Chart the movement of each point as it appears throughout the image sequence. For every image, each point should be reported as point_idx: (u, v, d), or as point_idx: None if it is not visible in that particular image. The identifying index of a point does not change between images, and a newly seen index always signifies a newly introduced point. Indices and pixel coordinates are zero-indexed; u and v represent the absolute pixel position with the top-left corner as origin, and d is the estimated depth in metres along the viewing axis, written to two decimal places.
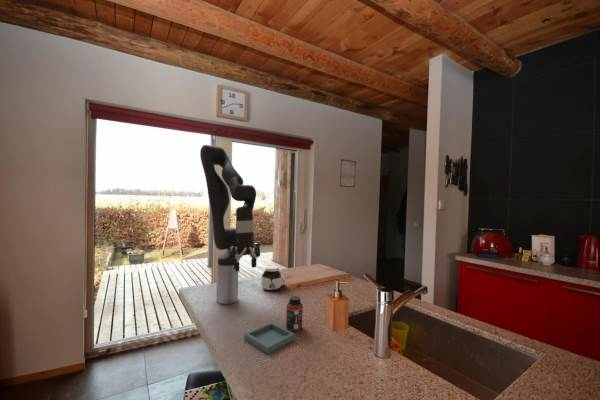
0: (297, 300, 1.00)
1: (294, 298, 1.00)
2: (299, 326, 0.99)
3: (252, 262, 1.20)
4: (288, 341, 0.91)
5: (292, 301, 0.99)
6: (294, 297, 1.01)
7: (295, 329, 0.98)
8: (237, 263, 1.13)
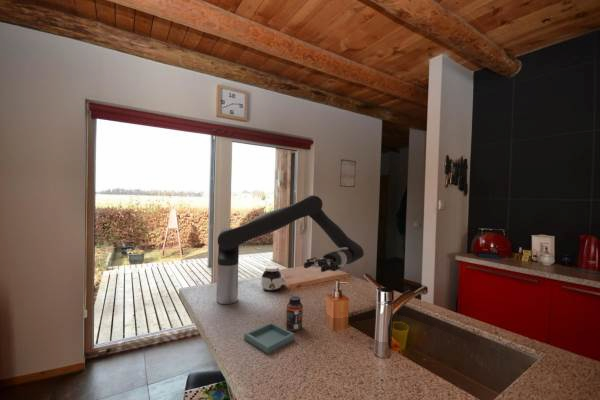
0: (297, 300, 1.00)
1: (294, 298, 1.00)
2: (299, 326, 0.99)
3: (308, 263, 1.13)
4: (288, 341, 0.91)
5: (292, 301, 0.99)
6: (294, 297, 1.01)
7: (295, 329, 0.98)
8: (327, 269, 1.09)
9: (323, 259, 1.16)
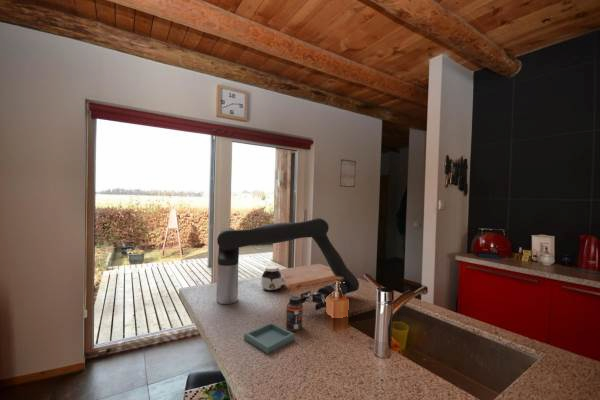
0: (297, 300, 1.00)
1: (294, 298, 1.00)
2: (299, 326, 0.99)
3: (302, 299, 1.11)
4: (288, 341, 0.91)
5: (292, 301, 0.99)
6: (294, 297, 1.01)
7: (295, 329, 0.98)
8: (321, 307, 1.07)
9: (318, 294, 1.14)
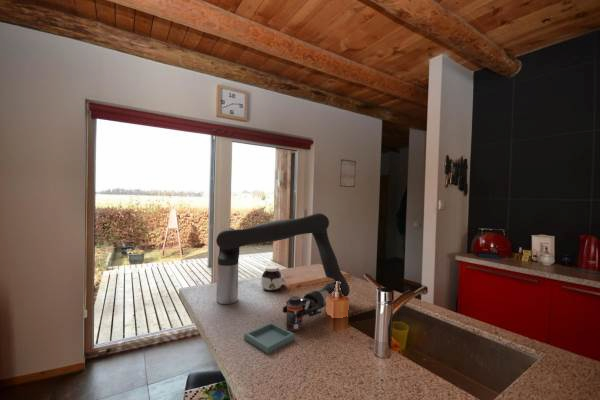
0: (297, 300, 1.00)
1: (294, 298, 1.00)
2: (299, 326, 0.99)
3: None
4: (288, 341, 0.91)
5: (292, 301, 0.99)
6: (294, 297, 1.01)
7: (295, 329, 0.98)
8: (303, 315, 0.99)
9: (304, 300, 1.07)
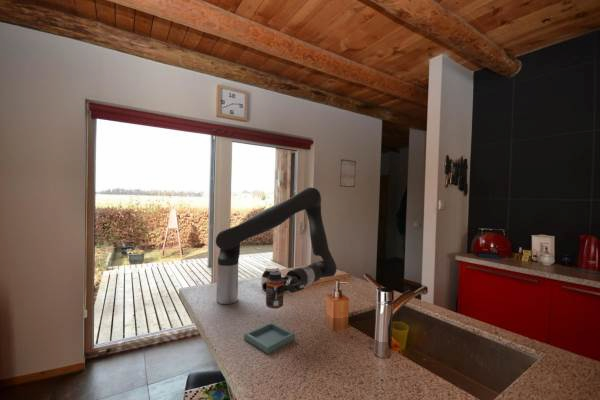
0: (277, 275, 0.92)
1: (274, 273, 0.93)
2: (279, 303, 0.92)
3: None
4: (288, 341, 0.91)
5: (272, 276, 0.92)
6: (275, 272, 0.94)
7: (275, 306, 0.91)
8: None
9: (286, 277, 0.99)
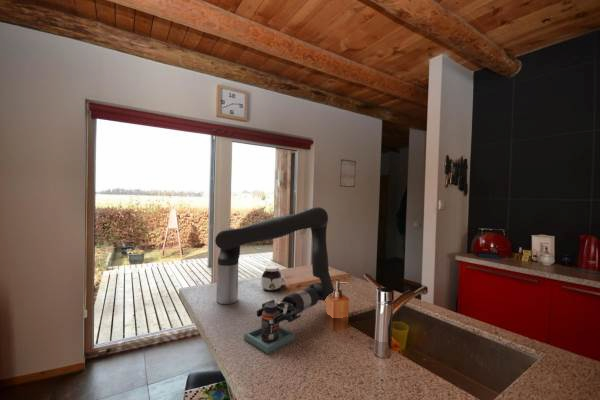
0: (273, 308, 0.91)
1: (270, 305, 0.92)
2: (275, 336, 0.90)
3: (262, 311, 0.95)
4: (288, 341, 0.91)
5: (267, 308, 0.91)
6: (270, 304, 0.93)
7: (270, 339, 0.90)
8: None
9: (281, 304, 0.98)
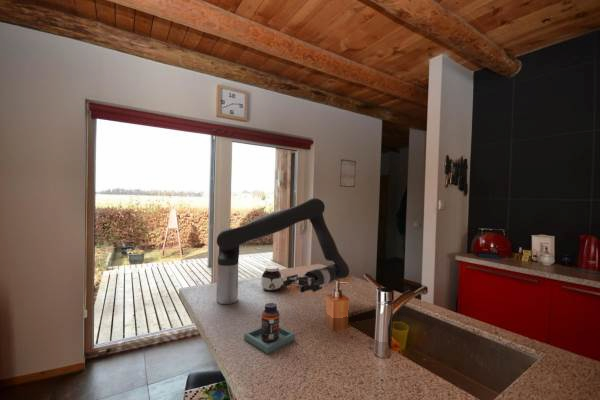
0: (273, 307, 0.91)
1: (270, 305, 0.92)
2: (275, 336, 0.90)
3: (288, 282, 1.07)
4: (288, 341, 0.91)
5: (267, 308, 0.91)
6: (270, 304, 0.93)
7: (270, 339, 0.90)
8: None
9: (304, 277, 1.10)
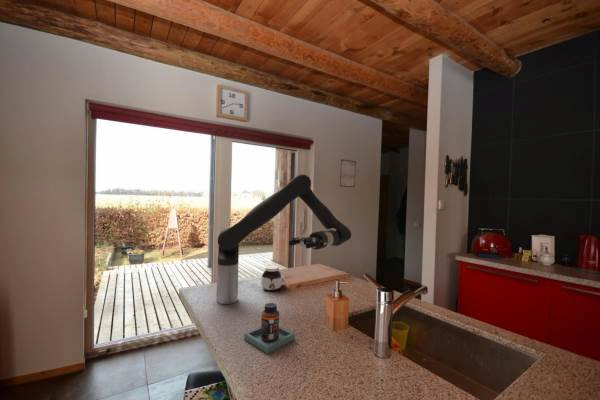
0: (272, 307, 0.91)
1: (269, 305, 0.92)
2: (275, 336, 0.90)
3: (293, 241, 1.11)
4: (288, 341, 0.91)
5: (267, 308, 0.91)
6: (270, 304, 0.93)
7: (270, 339, 0.90)
8: (312, 246, 1.07)
9: (309, 237, 1.14)
